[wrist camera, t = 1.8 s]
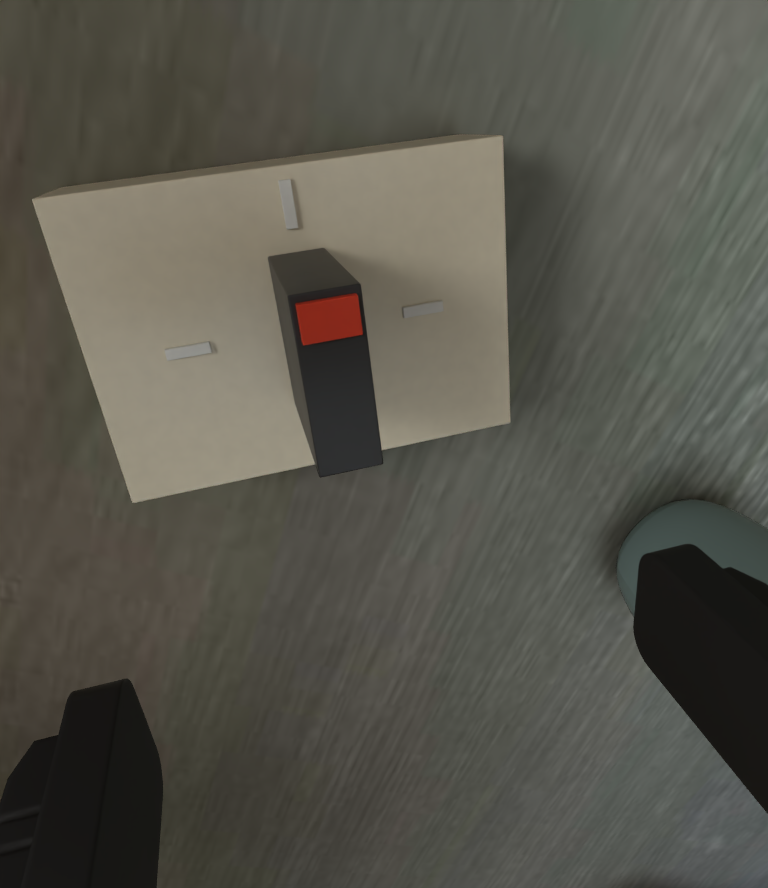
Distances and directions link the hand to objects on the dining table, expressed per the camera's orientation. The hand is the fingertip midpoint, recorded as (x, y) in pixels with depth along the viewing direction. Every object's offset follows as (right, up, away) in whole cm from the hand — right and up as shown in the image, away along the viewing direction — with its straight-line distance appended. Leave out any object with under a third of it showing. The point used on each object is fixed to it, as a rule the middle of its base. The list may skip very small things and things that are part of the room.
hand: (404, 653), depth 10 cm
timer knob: (-3, +7, +11) cm, 14 cm away
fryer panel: (-4, +9, +15) cm, 18 cm away
